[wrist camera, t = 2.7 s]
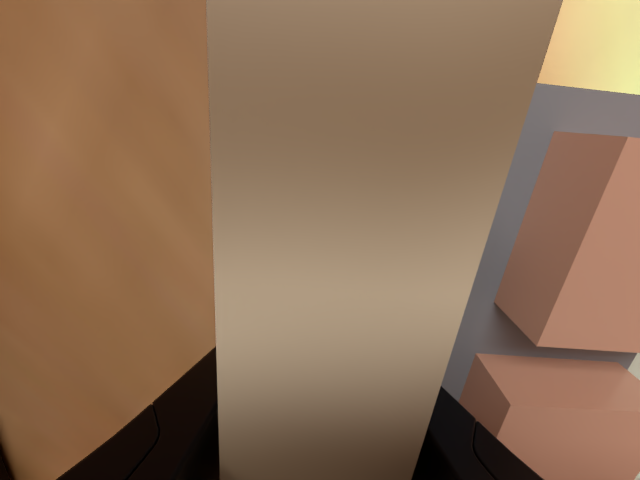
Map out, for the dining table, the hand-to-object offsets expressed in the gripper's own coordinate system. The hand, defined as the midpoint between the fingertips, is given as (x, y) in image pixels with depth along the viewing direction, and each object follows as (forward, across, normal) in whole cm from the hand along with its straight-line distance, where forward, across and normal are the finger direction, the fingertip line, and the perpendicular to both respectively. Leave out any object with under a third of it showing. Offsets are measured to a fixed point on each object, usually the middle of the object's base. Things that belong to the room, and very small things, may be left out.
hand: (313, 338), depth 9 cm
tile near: (+1, -8, -4) cm, 9 cm away
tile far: (+1, -8, +4) cm, 9 cm away
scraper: (+1, 0, 0) cm, 1 cm away
